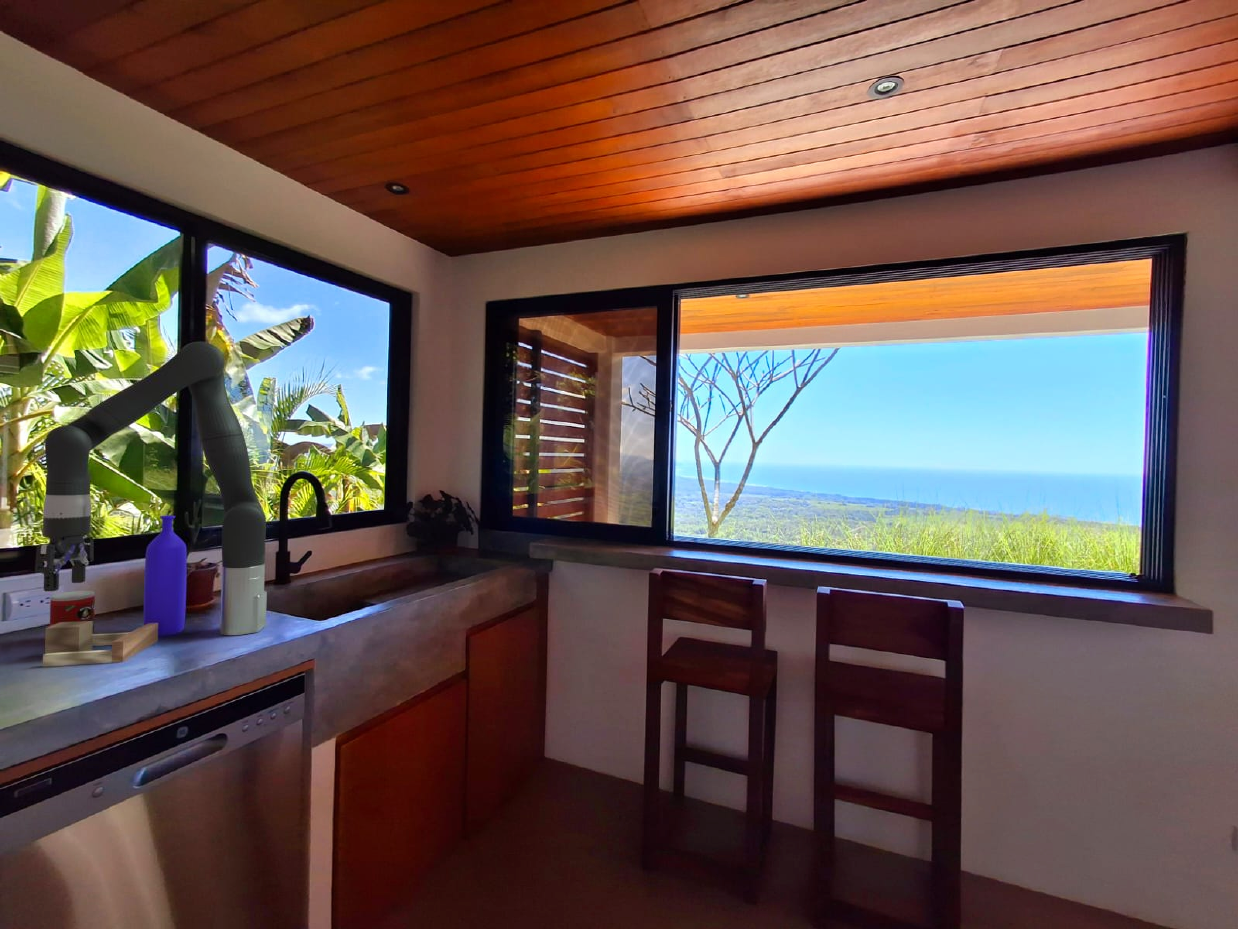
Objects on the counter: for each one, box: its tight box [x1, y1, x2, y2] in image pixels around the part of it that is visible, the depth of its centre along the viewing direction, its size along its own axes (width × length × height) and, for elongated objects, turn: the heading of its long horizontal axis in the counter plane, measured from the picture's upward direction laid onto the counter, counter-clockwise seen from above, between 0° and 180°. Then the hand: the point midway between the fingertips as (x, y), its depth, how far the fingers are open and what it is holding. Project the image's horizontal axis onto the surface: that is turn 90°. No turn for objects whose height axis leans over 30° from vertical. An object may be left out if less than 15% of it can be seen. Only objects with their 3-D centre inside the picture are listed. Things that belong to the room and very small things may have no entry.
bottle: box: [143, 515, 188, 638], centre depth 138 cm, size 8×8×30 cm
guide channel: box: [42, 623, 159, 668], centre depth 123 cm, size 14×14×4 cm
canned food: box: [49, 590, 96, 634], centre depth 131 cm, size 8×8×11 cm
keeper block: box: [44, 621, 93, 654], centre depth 121 cm, size 6×4×7 cm
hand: (65, 586), depth 121 cm, fingers open, 8 cm apart
